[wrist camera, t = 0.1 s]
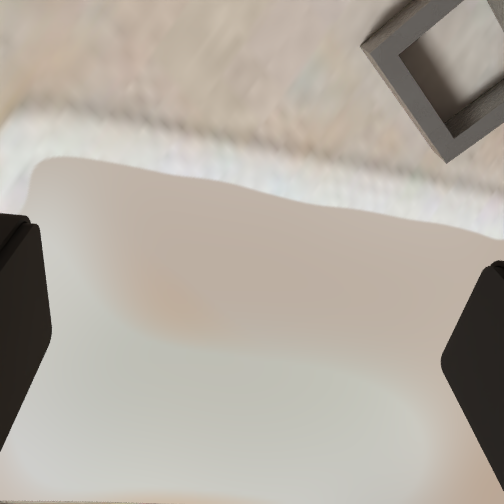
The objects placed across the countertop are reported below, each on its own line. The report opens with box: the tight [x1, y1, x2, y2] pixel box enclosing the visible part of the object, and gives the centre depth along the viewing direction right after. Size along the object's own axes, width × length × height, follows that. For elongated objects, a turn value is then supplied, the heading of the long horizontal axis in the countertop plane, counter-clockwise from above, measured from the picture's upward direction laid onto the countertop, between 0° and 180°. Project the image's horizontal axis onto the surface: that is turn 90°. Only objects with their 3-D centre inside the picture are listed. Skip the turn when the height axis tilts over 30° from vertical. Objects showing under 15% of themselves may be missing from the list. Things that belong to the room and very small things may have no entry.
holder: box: [360, 0, 504, 164], centre depth 36 cm, size 10×12×3 cm
